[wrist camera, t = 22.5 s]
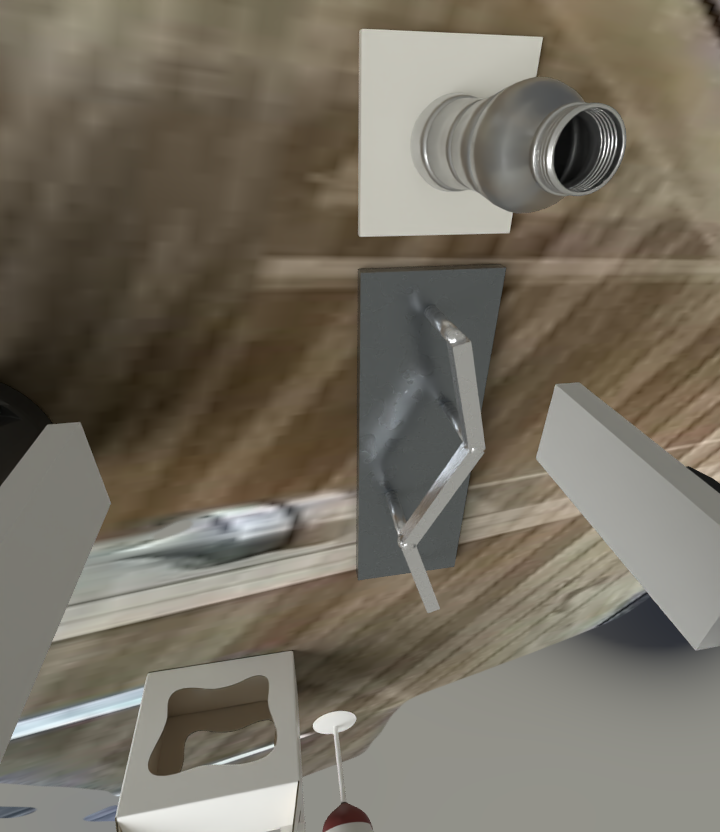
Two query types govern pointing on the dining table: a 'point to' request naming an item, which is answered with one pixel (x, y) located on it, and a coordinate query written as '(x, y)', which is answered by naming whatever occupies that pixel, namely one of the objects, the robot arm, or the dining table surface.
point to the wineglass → (341, 778)
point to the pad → (399, 110)
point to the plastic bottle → (519, 144)
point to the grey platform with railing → (419, 412)
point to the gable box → (215, 784)
